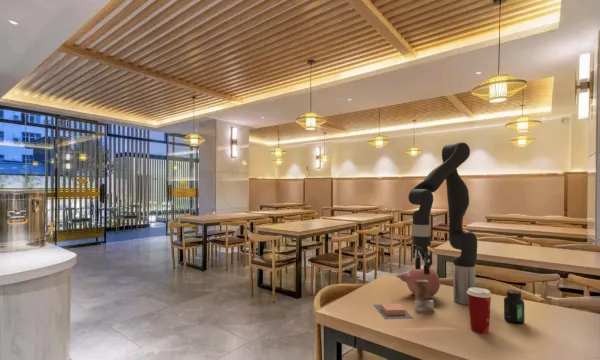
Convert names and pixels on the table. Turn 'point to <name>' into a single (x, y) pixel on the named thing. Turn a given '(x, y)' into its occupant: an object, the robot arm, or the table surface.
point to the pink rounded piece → (419, 275)
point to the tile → (393, 309)
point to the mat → (406, 316)
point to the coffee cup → (479, 309)
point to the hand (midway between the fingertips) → (422, 271)
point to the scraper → (423, 296)
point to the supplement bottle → (514, 308)
